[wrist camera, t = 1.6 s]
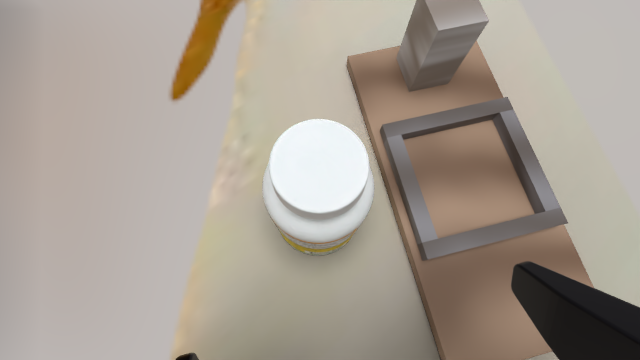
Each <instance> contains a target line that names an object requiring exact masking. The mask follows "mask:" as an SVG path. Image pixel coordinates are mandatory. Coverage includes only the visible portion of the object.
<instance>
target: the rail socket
mask: <svg viewBox="0 0 640 360" xmlns="http://www.w3.org/2000/svg"><path fill="white" fill-rule="evenodd" d="M488 21H489V19H488V17H487V15H486V13H485V11H484V9H483V7H482V5H481V3H480V1H479V0H416V3H415V6H414V9H413V12H412V15H411V18H410V20H409V23H408V26H407V29H406V32H405V35H404V38H403V40H402V43H401V46H397V47H392V48H387V49H382V50H377V51H372V52H367V53H362V54H357V55H353V56H348V59H347V68H348V71H349V74H350V77H351V80H352V83H353V86H354V89H355V92H356V96H357V99H358V102H359V105H360V108H361V111H362V114H363V117H364V121H365V124H366V127H367V130H368V133H369V136H370V139H371V142H372V146H373V149H374V152H375V155H376V158H377V161H378V164H379V167H380V171H381V174H382V177H383V180H384V183H385V186H386V189H387V192H388V195H389V199H390V202H391V205H392V208H393V211H394V214H395V217H396V220H397V224H398V227H399V230H400V233H401V236H402V239H403V242H404V245H405V249H406V252H407V255H408V258H409V261H410V264H411V267H412V270H413V274H414V277H415V280H416V283H417V286H418V289H419V292H420V295H421V298H422V302H423V305H424V308H425V311H426V314H427V317H428V320H429V323H430V327H431V330H432V333H433V336H434V339H435V342H436V345H437V348H438V352H439V355H440V358H441V360H524V359H527V358H531V357H534V356H538V355H541V354H545V353H548V352H551V351H552V350H551V348H550V347H549V346H548V344H547V343H546V342H545V340H544V339H543V337H542V336H541V334H540V333H539V331H538V330H537V328H536V327H535V325H534V324H533V322H532V321H531V319H530V318H529V316H528V315H527V313H526V312H525V310H524V309H523V307H522V306H521V304H520V303H519V301H518V300H517V298H516V296H515V295H514V293H513V291H512V289H511V280H512V273H513V267H514V266H515V264H518V263H522V262H525V261H531V262H534V263H536V264H538V265H541V266H543V267H545V268H548V269H550V270H553V271H555V272H557V273H560V274H562V275H564V276H567V277H569V278H571V279H574V280H576V281H578V282H581V283H583V284H585V285H588V286H590V287H593V285H592V283H591V280H590V278H589V276H588V274H587V272H586V270H585V268H584V266H583V264H582V261H581V259H580V257H579V255H578V253H577V251H576V249H575V247H574V245H573V243H572V240H571V238H570V236H569V234H568V232H567V230H566V228H565V226H564V224H567V223H568V222H567V220H566V218H565V216H564V214H563V212H562V209H561V207H560V205H559V203H558V201H557V199H556V197H555V195H554V193H553V191H552V189H551V187H550V184H549V182H548V180H547V178H546V176H545V174H544V172H543V170H542V168H541V166H540V164H539V162H538V159H537V157H536V155H535V153H534V151H533V149H532V147H531V145H530V143H529V141H528V139H527V137H526V135H525V132H524V130H523V128H522V126H521V124H520V122H519V120H518V118H517V116H516V114H515V112H514V110H513V107H512V105H511V103H510V101H509V99H508V97H505V98H503V95H502V93H501V91H500V89H499V87H498V85H497V83H496V81H495V79H494V77H493V74H492V72H491V70H490V68H489V66H488V64H487V62H486V60H485V58H484V55H483V53H482V51H481V49H480V47H479V45H478V43H477V41H476V40H477V38H478V37H479V35H480V34H481V32H482V31H483V29H484V28H485V26H486V24H487V23H488ZM593 288H594V287H593Z"/></svg>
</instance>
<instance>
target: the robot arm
mask: <svg viewBox="0 0 640 360" xmlns="http://www.w3.org/2000/svg"><path fill="white" fill-rule="evenodd" d="M511 289H512V291H513V293H514V295H515V296H516V298H517V300H518V301H519V303H520V304H521V306H522V307H523V309H524V310H525V312H526V313H527V315H528V316H529V318H530V319H531V321H532V322H533V324H534V325H535V327H536V328H537V330H538V331H539V333H540V334H541V336H542V337H543V339H544V340H545V342H546V343H547V344H548V346H549V347H550V348H551V350H552V351H553V352H554V353H555V355H556V356H557V357H558V358H559V360H640V307H637V306H635V305H632V304H630V303H628V302H625V301H623V300H621V299H618V298H616V297H614V296H611V295H609V294H607V293H604V292H602V291H600V290H597V289H595V288H593V287H590V286H588V285H585V284H583V283H581V282H578V281H576V280H574V279H571V278H569V277H567V276H564V275H562V274H560V273H557V272H555V271H553V270H550V269H548V268H545V267H543V266H541V265H538V264H536V263H534V262H531V261H525V262H522V263H518V264H515V266H514V267H513V273H512V280H511ZM176 360H199V359H198V357H197V355H196V354H195V353H188V354H185V355H181V356H179V357H178V358H177V359H176Z"/></svg>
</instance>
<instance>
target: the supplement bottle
mask: <svg viewBox="0 0 640 360" xmlns="http://www.w3.org/2000/svg"><path fill="white" fill-rule="evenodd" d="M262 191H263V198H264V202H265V206H266V208H267V211H268V213H269V215H270V216H271V218H272V220H273V221H274V223H275V225H276V226H277V228H278V229H279V231H280V233H281V234H282V236H283V238H284V239H285V240H286V241H287V242H288V243H289V244H290V245H291V246H292V247H293V248H295V249H296V250H298V251H300V252H303V253H305V254H309V255H326V254H330V253H333V252H335V251H337V250H339V249H340V248H342V247H343V246H344V245H346V244H347V243H348V242H349V240H350V239H351V237H352V236H353V234H354V233H355V232H356V230H357V229H358V227H359V226H360V225H361V223H362V222H363V220H364V219H365V217H366V216H367V214H368V212H369V210H370V208H371V205H372V202H373V197H374V179H373V174H372V171H371V168H370V166H369V158H368V154H367V151H366V148H365V146H364V144H363V143H362V141H361V140H360V139H359V137H358V136H357V135H356V134H355V133H354V132H353V131H352V130H350V129H349V128H347V127H346V126H344V125H342V124H340V123H338V122H335V121H331V120H326V119H311V120H306V121H303V122H300V123H297V124H295V125H293V126H292V127H290V128H289V129H287V130H286V131H285V132H284V133H283V134H282V135H281V136H280V137H279V138H278V140H277V141H276V143H275V144H274V146H273V148H272V151H271V154H270V159H269V163H268V165H267V167H266V170H265V173H264V177H263V186H262Z"/></svg>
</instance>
